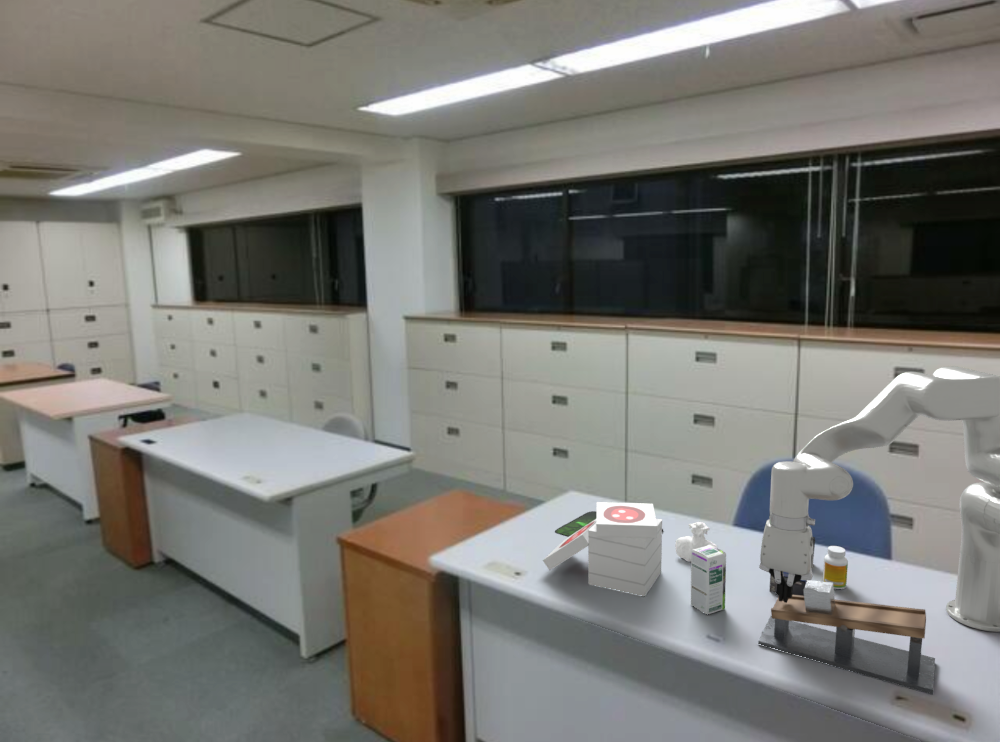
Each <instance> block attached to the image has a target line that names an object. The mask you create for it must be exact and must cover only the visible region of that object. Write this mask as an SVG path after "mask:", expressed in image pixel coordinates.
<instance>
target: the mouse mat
mask: <svg viewBox="0 0 1000 742" xmlns="http://www.w3.org/2000/svg"><path fill="white" fill-rule="evenodd" d="M596 518H597V510H596V511H595V510H594V511H591V510H590V511H587V512H585V513H584V514H582V515H580V516H578V517H577V518H574V519H573V520H571V521H569V522H567V523H566V524H563V525H562V526H560V527H558V528H556V529H555V531H554V533H556V534H558V535H560V536H565V537H567V538H568V537H569V536H571V535H572V534H574V533H575V532H577V531H578V530H580V529H581V528H583V527H584V526H586V525H587V524H589V523H591V522H592V521H594V520H595V519H596ZM663 532H664V529H663V528H662V533H663Z"/></svg>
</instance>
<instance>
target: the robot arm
mask: <svg viewBox="0 0 1000 742" xmlns="http://www.w3.org/2000/svg"><path fill="white" fill-rule="evenodd" d="M920 416H923V417H926V418H928V419H932V420H936V421H948V422H949V421H952V422H953V421H961V424H962V431H963V433H962V434H963V447H964V448H963V449H964V451H963V452H964V463H965V468H966V470H967V472H968V473H969V474H970V476H972V477H974V478H976V479H977V480H980V481H981V482H974V483H971V484H970V485H968V486H966V488H965V489H963V491H962V493H961V495H960V498H959V513H960V521H961V539H960V540H961V541H960V549H959V559H958V570H957V579H956V589H955V599H953V600H950V601H948V602H947V604H946V608H945V610H946V612H947V614H948V615H949V616H950V617H951V618H952V619H953V620H955V621H957V622H958V623H961V624H962V625H965V626H967V627H970V628H973V629H976V630H981V631H986V632H993V633H995V632H996V633H998V632H999V633H1000V375H996V374H993V373H992V374H991V373H988V372H982V371H979V370H978V371H977V370H974V369H970V368H965V367H960V366H955V365H952V366H951V365H950V366H949V365H948V366H941V367H939V368H938V369H936V370H934V372H933V373H932V374H928V373H924V372H923V373H922V372H919V371H917V372H916V371H905V372H902V373H900V374H898V375H897V376H896V377H895V378H894V379H892V380H891V381H890V383H888V384H887V385H886V386H885V387H884V388H883V389H882V390H880V392H879V393H878V394H877V395H876V396H875V397H874V398H873V399H872V400H871V401H870V402H869V403H868V404H867V405H866V406H865V407H864V408H863V409H862V410H861V411H860V412H859V413H858V414H857V415H856V416H854V417H852V418H850V419H848V420H845V421H843V422H840V423H838V424H835V425H833V426H831V427H830V428H826V430H824V431H822V432H820V433H818V434H817V435H815V436H814V437H813V438H812V439H811V440H810V441H809V442H808V443H807V444H806V445H805V446H804V447H803V448H802V449H801V450H800V451H799V452H798V453H797V454H796V456H795V457H794V459H793V460H792V461H789V460H788V461H786V460H785V461H778V462H776V463H774V465H773V466H772V467H771V473H770V475H771V477H770V478H771V479H770V493H769V494H770V497H769V518H768V519H767V520H766V523H765V526H764V530H763V534H762V540H761V547H760V548H761V549H760V556H759V557H760V561H759V565H758V566H759V567H758V568H759V569H760V570H762V571H764V572H766V573H769V575H770V574H771V576H772V577H773V578H774V579H775V582H776V583H777V592H776V593H775V594H776V595H777V596H778V595H779V601H784V602H785V603H787V601H788V599H789V598H792V592H793V584H795V583H796V582H798V581H799V580H807V581H808V580H811V581H812V579H813V571H812V569H813V565H814V558H813V537H814V536H813V530H812V528H811V527H812V526H813V527H814V526H815V525H816V519H815V518H811V517H810V516H809V515H810V514H809V501H810V500H811V499H812V500H821V501H839V500H842V499H844V498H845V497H847V496H849V495H850V493H851V492H852V490H853V487H854V481H853V477H852V476H851V474H850V473H849V472H848V470H846V469H845V468H843V467H841V466H839V465H838V464H836V463H834V461H835V460H837V459H838V458H839V457H842V456H843V455H845V454H847V453H849V452H852V451H856V450H863V449H874V448H876V449H877V448H882V447H887V446H889V445H891V444H892V443H893V442H894V441H895V440H896V439H897V438H898V437H899V436H900V435H901V434H902V433H903V432H904V431H905V430H906V429H907V428H908V427H910V425H911V424H912V423H914V421H916V420H917V419H918V418H919V417H920ZM783 572H788V573H789V575H788V579H787V580H785V579H784V575H783Z"/></svg>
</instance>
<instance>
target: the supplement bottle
mask: <svg viewBox="0 0 1000 742" xmlns="http://www.w3.org/2000/svg"><path fill="white" fill-rule="evenodd" d="M848 565H849V561H848V559H847V557H846V549H845V548H844V547H841V546H839V545H838V546H837V545H830V546H827V553H826V555H825V556H824V558H823V570H822V571H823V573H822V582H831V583H833V587H834V590H836V589H841V590H844V589H846V588H847V582H848V581H847V580H848V568H849V567H848Z"/></svg>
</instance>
